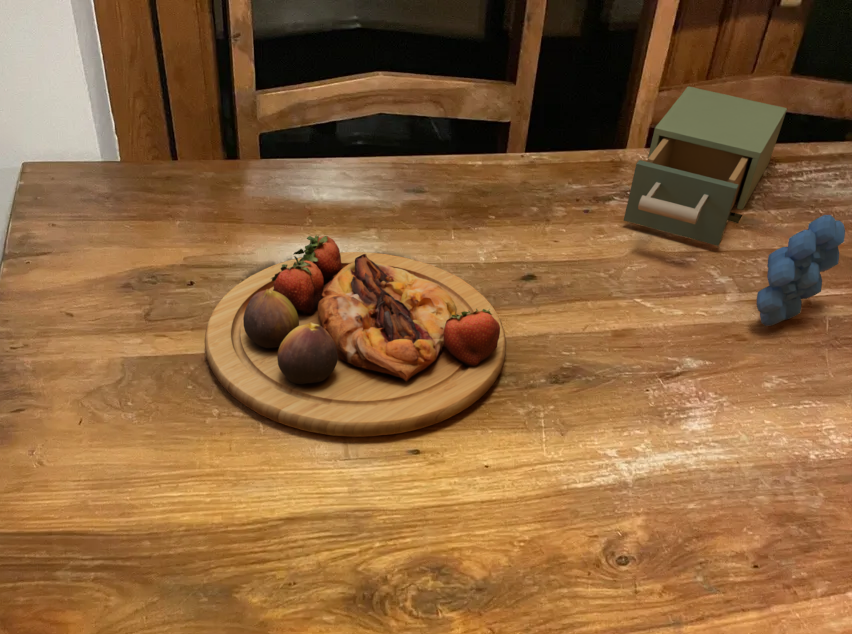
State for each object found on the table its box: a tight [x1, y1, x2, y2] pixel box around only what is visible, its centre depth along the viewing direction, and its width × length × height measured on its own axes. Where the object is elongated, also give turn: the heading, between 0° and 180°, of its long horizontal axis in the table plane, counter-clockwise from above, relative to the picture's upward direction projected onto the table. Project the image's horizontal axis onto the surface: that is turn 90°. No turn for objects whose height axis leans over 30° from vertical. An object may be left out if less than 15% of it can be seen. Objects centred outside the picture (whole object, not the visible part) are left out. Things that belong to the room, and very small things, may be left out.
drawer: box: [623, 137, 753, 247], centre depth 117 cm, size 21×12×7 cm, turn 153°
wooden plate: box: [204, 234, 507, 437], centre depth 98 cm, size 32×32×8 cm
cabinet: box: [647, 86, 788, 224], centre depth 125 cm, size 16×14×9 cm
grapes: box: [755, 214, 846, 327], centre depth 103 cm, size 12×7×12 cm, turn 127°
